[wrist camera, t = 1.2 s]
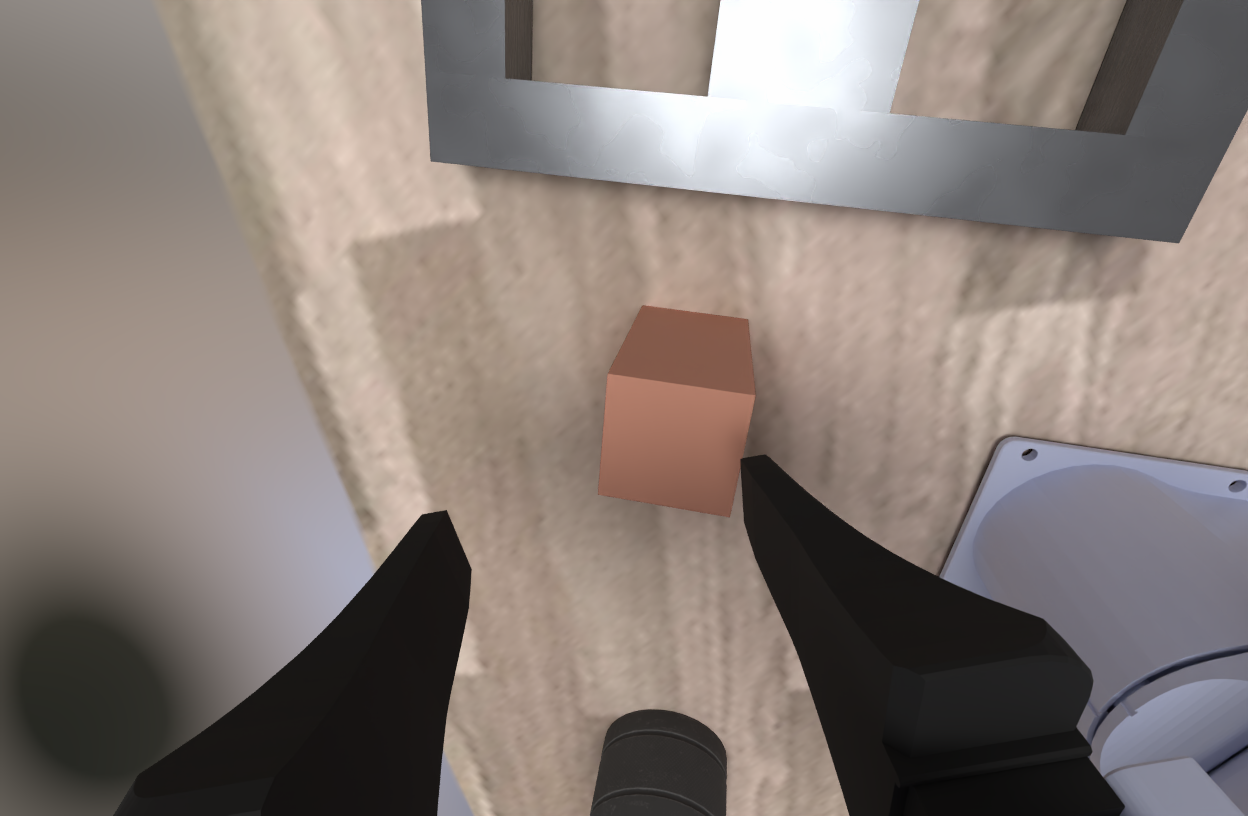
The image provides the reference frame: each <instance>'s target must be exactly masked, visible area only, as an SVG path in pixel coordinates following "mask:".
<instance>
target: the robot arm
mask: <svg viewBox="0 0 1248 816" xmlns="http://www.w3.org/2000/svg"><path fill="white" fill-rule="evenodd" d="M1027 449H1032V452H1031V453H1030V454H1028V455H1026V456H1022V453H1023V452H1024V451H1025V450H1027ZM740 463H741V479H742V496H743V512H744V523H745V527H746V530H747V533H748V536H749V540H750V543H751V546H752V549H753V552H754V555H755V559H756V561H757V563H758V566H759V568H760V570H761V572H762V575H763V577H764V579H765V581H766V583H767V586H768V588H769V590H770V592H771V595H772V597H773V599H774V601H775V603H776V606H777V608H778V610H779V612H780V614H781V617H782V619H783V621H784V623H785V625H786V628H787V630H788V632H789V634H790V637H791V639H792V641H793V644H794V646H795V649H796V651H797V654H798V656H799V659H800V662H801V665H802V668H803V671H804V674H805V677H806V680H807V683H808V686H809V688H810V691H811V694H812V697H813V700H814V704H815V707H816V710H817V713H818V716H819V719H820V722H821V725H822V728H823V731H824V734H825V737H826V740H827V744H828V747H829V750H830V753H831V757H832V760H833V763H834V766H835V769H836V773H837V776H838V779H839V782H840V785H841V789H842V792H843V795H844V799H845V802H846V806H847V809H848V812H849V816H1248V471H1245V470H1238V469H1232V468H1225V467H1218V466H1211V465H1205V464H1198V463H1191V462H1184V461H1178V460H1171V459H1164V458H1157V457H1151V456H1144V455H1137V454H1130V453H1124V452H1117V451H1110V450H1103V449H1097V448H1090V447H1083V446H1076V445H1070V444H1063V443H1056V442H1049V441H1043V440H1036V439H1029V438H1022V437H1008V438H1005V439H1004V440H1002V441H1001V442H1000V443H999V444H998V446H997V448H996V450H995V452H994V455H993V457H992V459H991V461H990V464H989V466H988V468H987V470H986V473H985V475H984V477H983V479H982V482H981V484H980V486H979V488H978V491H977V493H976V495H975V497H974V500H973V502H972V504H971V506H970V509H969V511H968V513H967V516H966V518H965V520H964V522H963V525H962V527H961V529H960V531H959V534H958V536H957V538H956V540H955V543H954V545H953V547H952V549H951V552H950V554H949V556H948V558H947V561H946V563H945V565H944V568H943V570H942V572H941V574H940V577H938V576H936V575H934V574H932V573H930V572H928V571H926V570H924V569H922V568H920V567H918V566H916V565H914V564H912V563H910V562H908V561H906V560H905V559H903V558H901V557H899V556H897V555H896V554H894V553H892V552H890V551H889V550H887V549H885V548H884V547H882V546H881V545H879V544H877V543H876V542H874V541H872V540H871V539H869V538H868V537H866V536H865V535H863V534H862V533H860V532H859V531H857V530H856V529H854V528H853V527H852V526H850V525H849V524H848V523H846V522H845V521H843V520H842V519H841V518H839V517H838V516H837V515H835V514H834V513H833V512H831V511H830V510H829V509H828V508H826V507H825V506H824V505H823V504H821V503H820V502H819V501H818V500H817V499H815V498H814V497H813V496H812V495H810V494H809V493H808V492H807V491H806V490H805V489H803V488H802V487H801V486H800V485H799V484H798V483H797V482H795V481H794V480H793V479H792V478H791V477H790V476H789V475H788V474H787V473H786V472H784V471H783V470H782V469H781V468H780V467H779V466H778V465H777V464H776V463H775V462H774V461H773V460H772V459H771V458H770V457H768V456H767V455H759V456H753V457H747V458H742V459H740ZM1234 481H1237V482H1236V483H1235V484H1234V485H1231V486H1229V485H1230V484H1231V483H1232V482H1234ZM471 570H472V569H471V567H470V564H469V562H468V560H467V557H466V555H465V553H464V550H463V548H462V545H461V543H460V541H459V538H458V536H457V534H456V531H455V529H454V526H453V524H452V522H451V519H450V517H449V515H448V512H447V510H445V511H439V512H433V513H428V514H422V515H421V516H420V518H419V519H418V520H417V521H416V522H415V524H414V525H413V526H412V527H411V529H410V530H409V531H408V532H407V534H406V535H405V536H404V537H403V539H402V540H401V541H400V543H399V544H398V545H397V546H396V548H395V549H394V550H393V551H392V553H391V554H390V555H389V556H388V558H387V559H386V560H385V561H384V563H383V564H382V565H381V566H380V568H379V569H378V570H377V571H376V572H375V574H374V575H373V576H372V577H371V579H370V580H369V581H368V582H367V583H366V584H365V586H364V587H363V588H362V589H361V590H360V591H359V592H358V594H357V595H356V596H355V597H354V598H353V599H352V600H351V601H350V603H349V604H348V605H347V606H346V607H345V608H344V609H343V610H342V612H341V613H340V614H339V615H338V616H337V617H336V618H335V619H334V620H333V621H332V622H331V623H330V624H329V625H328V626H327V627H326V628H325V629H324V630H323V631H322V633H320V634H319V635H318V636H317V637H316V638H315V639H314V640H313V641H312V642H311V643H310V644H309V645H308V646H307V647H306V648H305V649H304V650H303V651H301V652H300V654H298V655H297V656H296V657H295V658H294V659H293V660H292V661H290V662H289V663H288V664H287V665H286V666H284V668H282V669H281V670H280V671H279V672H278V673H276V675H274V676H273V677H272V678H271V679H269V680H268V681H267V682H266V683H265V684H264V685H263V686H261V687H260V688H259V689H258V690H256V692H254V693H253V694H251V696H249V697H248V698H246V699H245V700H244V701H243V702H241V703H240V704H239V705H237V706H236V707H235V708H234V709H232V710H231V711H230V712H228V713H227V714H226V715H224V716H223V717H222V718H220V719H219V720H218V721H216V722H215V723H214V724H212V725H211V726H209V727H208V728H207V729H205V730H204V731H202V732H201V733H200V734H198V735H197V736H196V737H194V738H192V739H191V740H189V741H188V742H187V743H185V744H184V745H182V746H181V747H179V748H178V749H176V750H175V751H173V752H172V753H170V754H169V755H167V756H166V757H164V758H163V759H161V760H160V761H158V762H157V763H155V764H154V765H153V766H151V767H149V768H148V769H146V770H145V771H143V772H142V773H140V774H139V775H138V776H137V778H136V780H135V781H134V783H133V784H132V786H131V788H130V789H129V791H128V792H127V794H126V796H125V797H124V799H123V801H122V802H121V804H120V805H119V807H118V809H117V811H116V812H115V814H114V815H113V816H437V810H438V797H439V785H440V774H441V763H442V753H443V744H444V735H445V726H446V717H447V711H448V705H449V700H450V694H451V690H452V685H453V681H454V676H455V671H456V667H457V662H458V657H459V653H460V648H461V643H462V639H463V634H464V629H465V624H466V619H467V614H468V609H469V599H470V586H471Z"/></svg>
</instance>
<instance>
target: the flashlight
mask: <svg viewBox="0 0 1248 816" xmlns="http://www.w3.org/2000/svg"><path fill="white" fill-rule="evenodd" d="M726 779H727V758H726V752H725V749H724V746H723V744H722V742H721V741H720V740H719V738H718V737H717V736H716V734H714V733H713V732H712V731H711V730H710V729H709V728H708V727H706V726H705V725H703V724H701V723H700V722H698V721H696V720H694V719H692V718H690V717H687V716H685V715H681V714H678V713H675V712H669V711H663V710H644V711H637V712H633V713H630V714H627V715H625V716H623V717H621V718H619V719H618V720H616V721H615V722H614V723H613V724H612V725H611V726H610V728H609V729H608V731H607V734H606V737H605V741H604V746H603V751H602V756H601V762H600V766H599V771H598V776H597V781H596V787H595V792H594V797H593V802H592V807H591V813H590V816H726V787H727V785H726Z"/></svg>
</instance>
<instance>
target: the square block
mask: <svg viewBox="0 0 1248 816" xmlns="http://www.w3.org/2000/svg"><path fill="white" fill-rule="evenodd" d="M755 396H756V394H755V384H754V374H753V364H752V354H751V345H750V335H749V325H748V319H742V318H734V317H727V316H719V315H712V314H704V313H697V312H689V311H682V310H674V309H667V308H659V307H651V306H644V305H643V306H642V307H641V309H640V311H639V313H638V315H637V317H636V319H635V321H634V323H633V325H632V327H631V329H630V331H629V333H628V335H627V337H626V339H625V341H624V343H623V345H622V347H621V349H620V351H619V353H618V355H617V356H616V358H615V360H614V362H613V364H612V366H611V368H610V370H609V372H608V376H607V389H606V401H605V413H604V425H603V438H602V450H601V462H600V475H599V487H598V495H603V496H609V497H615V498H621V499H627V500H632V501H638V502H644V503H650V504H656V505H662V506H667V507H673V508H679V509H685V510H691V511H696V512H702V513H708V514H714V515H720V516H726V517H730V514H731V510H732V505H733V500H734V496H735V491H736V486H737V481H738V477H739V472H740V467H741V463H740V459H742V458H743V453H744V448H745V444H746V439H747V434H748V429H749V425H750V420H751V415H752V411H753V406H754V401H755Z"/></svg>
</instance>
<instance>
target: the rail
mask: <svg viewBox="0 0 1248 816" xmlns="http://www.w3.org/2000/svg"><path fill="white" fill-rule="evenodd" d="M918 4H919V0H721V2H720V9H719V17H718V24H717V32H716V39H715V46H714V54H713V61H712V69H711V76H710V83H709V91H708V97H704V96H693V95H682V94H671V93H660V92H649V91H638V90H627V89H616V88H605V87H594V86H583V85H572V84H561V83H550V82H540V81H531V74H532V0H421V6H422V23H423V39H424V56H425V73H426V90H427V107H428V124H429V141H430V157H431V161H432V162H442V163H451V164H460V165H469V166H478V167H487V168H496V169H505V170H515V171H524V172H533V173H542V174H551V175H560V176H569V177H579V178H588V179H597V180H606V181H615V182H624V183H633V184H642V185H652V186H661V187H670V188H679V189H688V190H697V191H706V192H715V193H725V194H734V195H743V196H752V197H761V198H770V199H779V200H788V201H798V202H807V203H816V204H825V205H834V206H843V207H852V208H861V209H871V210H880V211H889V212H898V213H907V214H916V215H925V216H934V217H944V218H953V219H962V220H971V221H980V222H989V223H998V224H1007V225H1017V226H1026V227H1035V228H1044V229H1053V230H1062V231H1071V232H1080V233H1090V234H1099V235H1108V236H1117V237H1126V238H1135V239H1144V240H1153V241H1163V242H1172V243H1179V242H1180V240H1181V238H1182V236H1183V235H1184V233H1185V231H1186V229H1187V227H1188V225H1189V223H1190V221H1191V219H1192V217H1193V215H1194V213H1195V211H1196V209H1197V207H1198V205H1199V203H1200V201H1201V199H1202V198H1203V196H1204V194H1205V192H1206V190H1207V188H1208V186H1209V184H1210V182H1211V180H1212V178H1213V176H1214V174H1215V172H1216V170H1217V168H1218V166H1219V164H1220V162H1221V161H1222V159H1223V157H1224V155H1225V153H1226V151H1227V149H1228V147H1229V145H1230V143H1231V141H1232V139H1233V137H1234V135H1235V133H1236V131H1237V129H1238V127H1239V125H1240V123H1241V122H1242V120H1243V118H1244V116H1245V114H1246V112H1247V110H1248V0H1127V3H1126V5H1125V8H1124V10H1123V13H1122V15H1121V18H1120V20H1119V23H1118V26H1117V28H1116V31H1115V33H1114V36H1113V38H1112V41H1111V43H1110V46H1109V48H1108V51H1107V53H1106V56H1105V58H1104V61H1103V63H1102V66H1101V68H1100V71H1099V73H1098V76H1097V78H1096V81H1095V83H1094V86H1093V88H1092V91H1091V93H1090V96H1089V98H1088V101H1087V103H1086V106H1085V108H1084V111H1083V113H1082V116H1081V118H1080V121H1079V123H1078V126H1077V128H1076V130H1066V129H1055V128H1044V127H1033V126H1022V125H1011V124H1000V123H989V122H978V121H967V120H956V119H945V118H934V117H923V116H912V115H901V114H890V110H891V106H892V102H893V98H894V94H895V91H896V87H897V83H898V79H899V76H900V72H901V68H902V64H903V60H904V57H905V53H906V49H907V45H908V41H909V38H910V34H911V30H912V26H913V22H914V19H915V15H916V11H917V7H918Z"/></svg>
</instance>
